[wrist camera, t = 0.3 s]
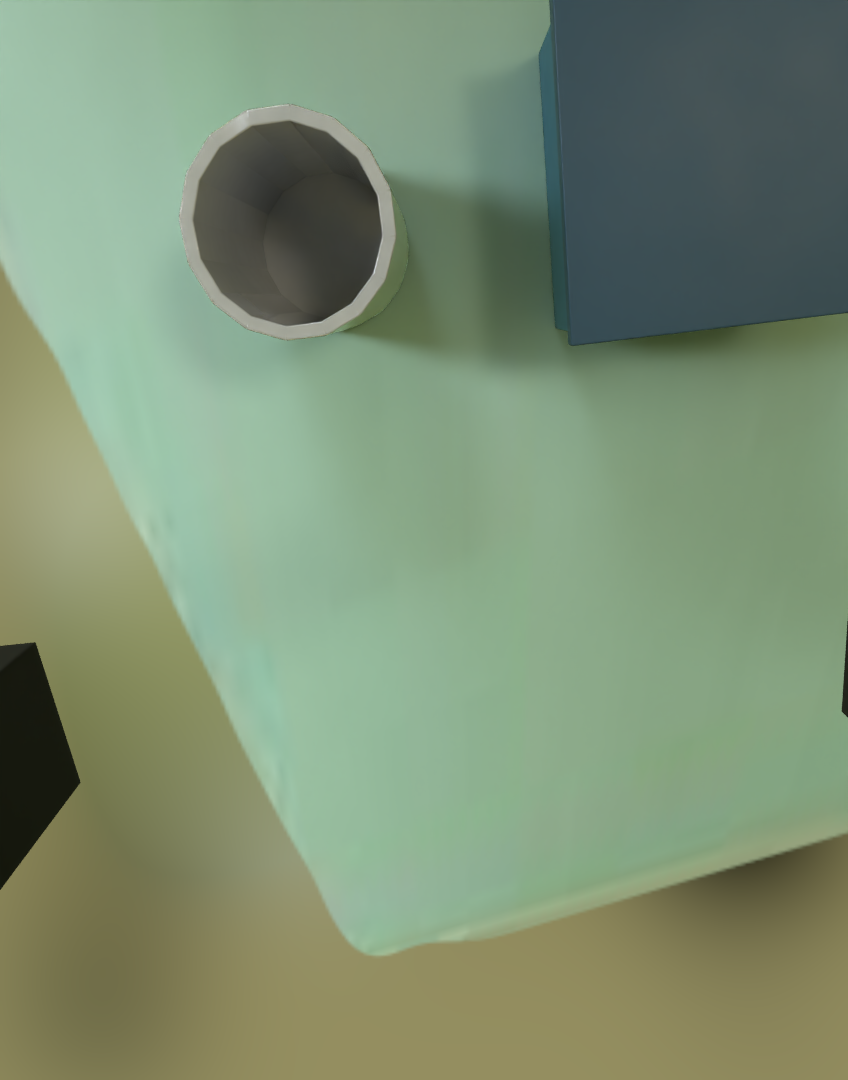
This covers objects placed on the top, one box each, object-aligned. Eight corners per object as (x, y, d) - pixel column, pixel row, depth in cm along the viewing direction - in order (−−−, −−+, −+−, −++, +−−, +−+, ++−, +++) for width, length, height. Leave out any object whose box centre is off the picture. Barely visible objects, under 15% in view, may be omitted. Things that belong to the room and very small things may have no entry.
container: (529, 44, 32) (551, -22, 26) (797, 4, 32) (892, -74, 25) (547, 337, 36) (571, 346, 30) (787, 308, 36) (866, 310, 29)
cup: (243, 176, 34) (158, 121, 24) (398, 154, 34) (379, 90, 24) (272, 336, 37) (205, 350, 26) (417, 318, 36) (407, 325, 26)
